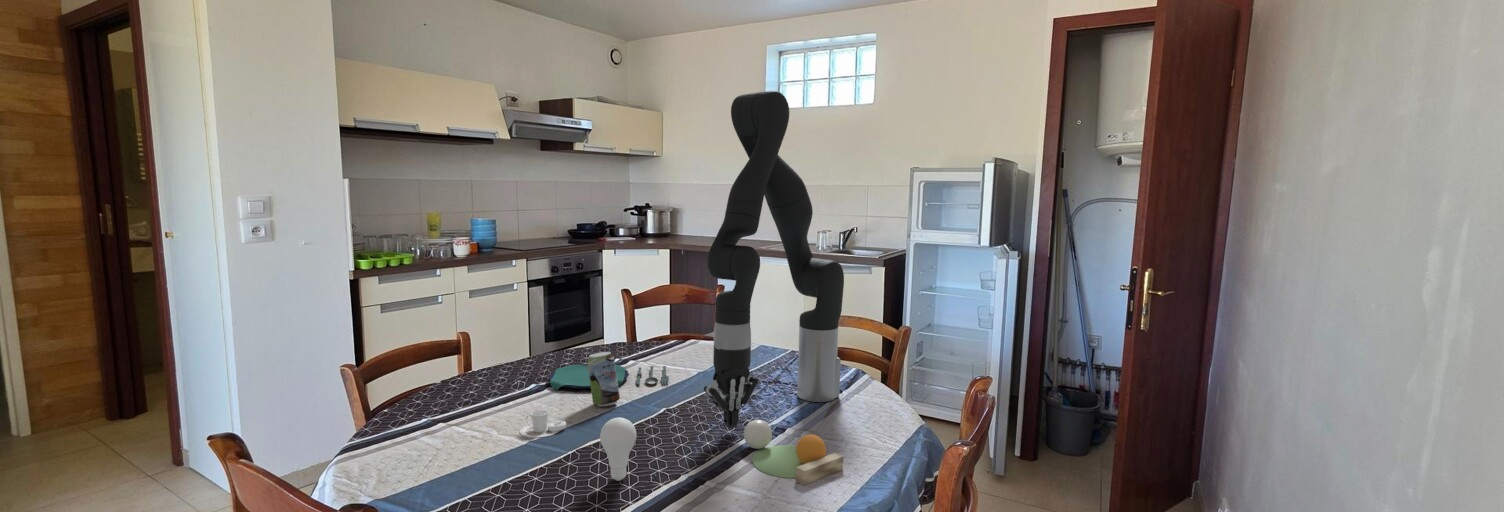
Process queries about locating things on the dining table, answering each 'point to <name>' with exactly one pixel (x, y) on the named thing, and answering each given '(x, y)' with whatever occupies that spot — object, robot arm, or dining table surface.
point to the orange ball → (810, 448)
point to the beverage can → (603, 379)
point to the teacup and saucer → (542, 424)
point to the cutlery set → (580, 379)
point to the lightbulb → (618, 444)
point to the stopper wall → (819, 468)
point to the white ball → (757, 434)
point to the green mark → (777, 461)
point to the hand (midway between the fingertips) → (730, 426)
